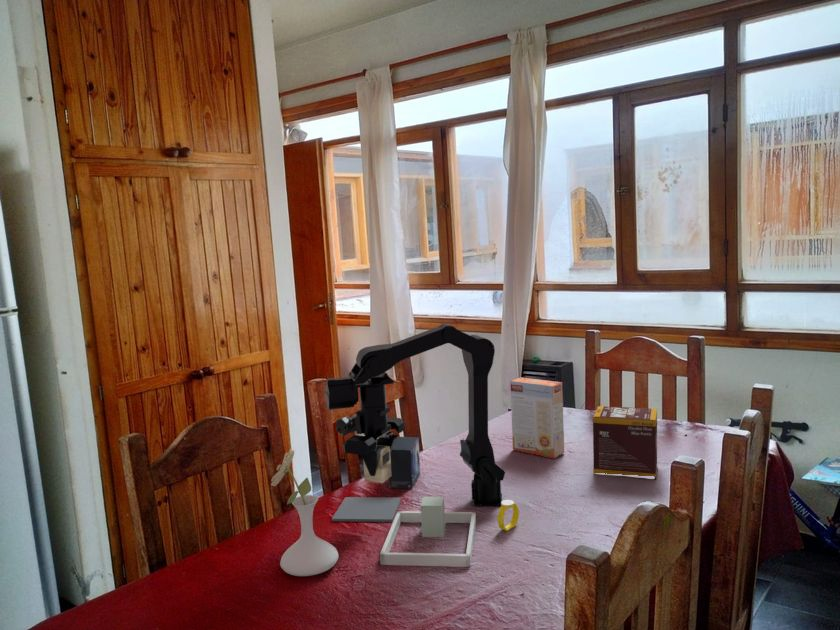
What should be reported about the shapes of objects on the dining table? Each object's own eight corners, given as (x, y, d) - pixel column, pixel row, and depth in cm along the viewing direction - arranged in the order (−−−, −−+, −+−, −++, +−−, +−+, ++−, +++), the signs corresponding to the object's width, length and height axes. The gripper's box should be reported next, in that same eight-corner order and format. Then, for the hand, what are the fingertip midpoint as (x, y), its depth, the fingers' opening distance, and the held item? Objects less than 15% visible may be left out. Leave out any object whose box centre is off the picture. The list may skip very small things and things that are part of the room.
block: (445, 527, 142) (443, 497, 141) (443, 537, 137) (441, 505, 136) (425, 527, 142) (423, 496, 141) (422, 536, 138) (420, 505, 137)
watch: (506, 536, 137) (504, 510, 136) (495, 532, 139) (493, 506, 138) (522, 523, 141) (520, 498, 140) (511, 520, 143) (509, 495, 142)
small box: (413, 489, 164) (411, 449, 162) (388, 488, 165) (386, 449, 164) (421, 473, 174) (419, 436, 173) (398, 473, 175) (395, 435, 174)
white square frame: (476, 521, 144) (475, 512, 143) (470, 566, 124) (469, 556, 124) (398, 520, 146) (397, 511, 146) (380, 564, 127) (379, 554, 127)
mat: (401, 499, 157) (401, 497, 157) (392, 521, 146) (392, 519, 146) (345, 499, 160) (345, 497, 159) (332, 521, 148) (331, 518, 148)
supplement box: (656, 480, 161) (656, 419, 159) (593, 474, 167) (592, 416, 165) (658, 465, 171) (657, 408, 169) (597, 461, 176) (596, 405, 174)
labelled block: (374, 473, 149) (372, 443, 148) (392, 476, 147) (390, 445, 146) (364, 481, 145) (362, 450, 144) (383, 483, 143) (381, 452, 142)
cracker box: (565, 453, 183) (563, 381, 181) (554, 460, 179) (552, 386, 176) (523, 444, 193) (521, 375, 190) (512, 450, 188) (509, 380, 186)
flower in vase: (306, 548, 136) (297, 432, 132) (350, 559, 130) (342, 439, 127) (262, 578, 124) (251, 453, 121) (308, 592, 119) (297, 461, 115)
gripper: (361, 392, 156) (365, 454, 158) (319, 413, 139) (324, 483, 141) (403, 394, 151) (407, 459, 153) (365, 417, 134) (370, 489, 136)
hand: (377, 471), depth 146 cm, fingers closed on labelled block, 4 cm apart
